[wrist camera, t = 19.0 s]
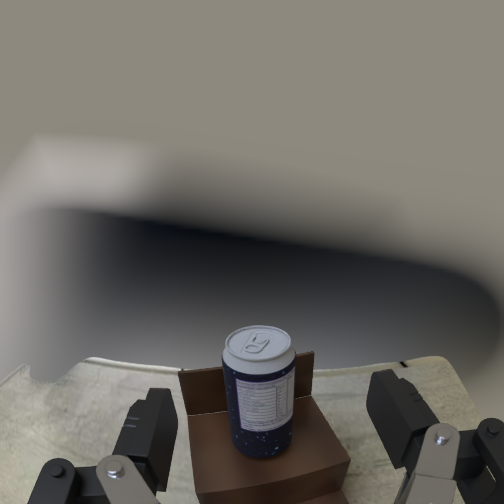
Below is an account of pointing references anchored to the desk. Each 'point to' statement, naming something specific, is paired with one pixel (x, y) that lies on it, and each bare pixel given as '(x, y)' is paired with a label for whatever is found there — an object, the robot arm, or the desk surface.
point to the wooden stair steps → (262, 469)
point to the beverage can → (260, 389)
